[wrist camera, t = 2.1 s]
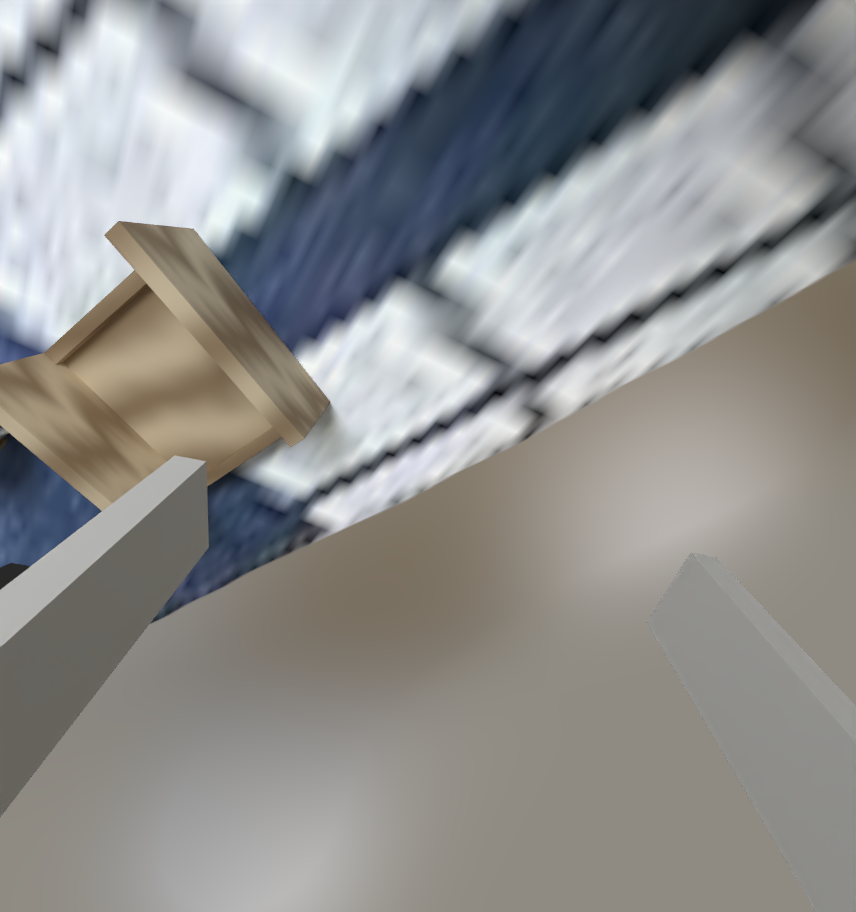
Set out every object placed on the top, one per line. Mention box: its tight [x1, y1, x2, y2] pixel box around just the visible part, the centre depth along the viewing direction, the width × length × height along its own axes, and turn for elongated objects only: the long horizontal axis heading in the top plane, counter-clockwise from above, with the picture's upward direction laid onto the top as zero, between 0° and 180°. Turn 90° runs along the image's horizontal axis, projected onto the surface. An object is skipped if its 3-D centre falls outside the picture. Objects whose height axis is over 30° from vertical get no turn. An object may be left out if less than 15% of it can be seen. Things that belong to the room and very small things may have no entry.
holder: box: [0, 221, 330, 511], centre depth 30 cm, size 15×16×8 cm
